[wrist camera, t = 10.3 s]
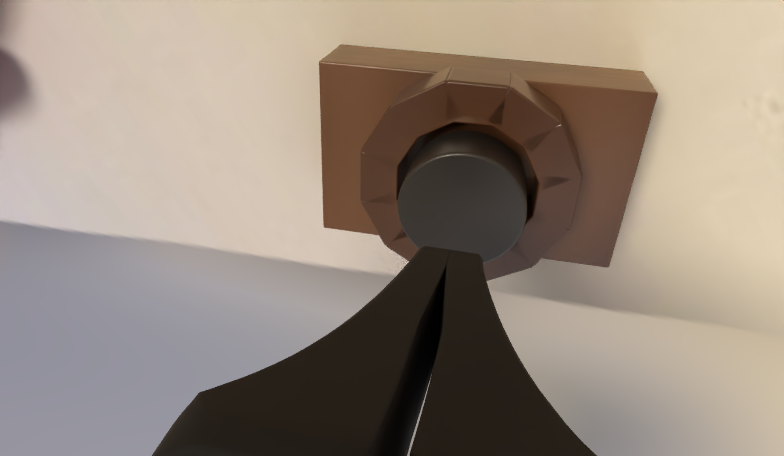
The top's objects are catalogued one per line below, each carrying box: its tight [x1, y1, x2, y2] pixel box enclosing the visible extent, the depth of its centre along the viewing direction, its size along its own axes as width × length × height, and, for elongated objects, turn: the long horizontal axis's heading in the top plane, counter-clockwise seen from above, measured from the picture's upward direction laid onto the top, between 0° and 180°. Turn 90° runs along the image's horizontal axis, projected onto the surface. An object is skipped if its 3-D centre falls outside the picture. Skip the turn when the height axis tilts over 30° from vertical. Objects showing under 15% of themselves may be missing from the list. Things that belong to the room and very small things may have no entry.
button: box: [397, 131, 527, 263], centre depth 16 cm, size 4×4×2 cm
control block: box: [319, 45, 658, 281], centre depth 19 cm, size 10×6×4 cm, turn 88°
